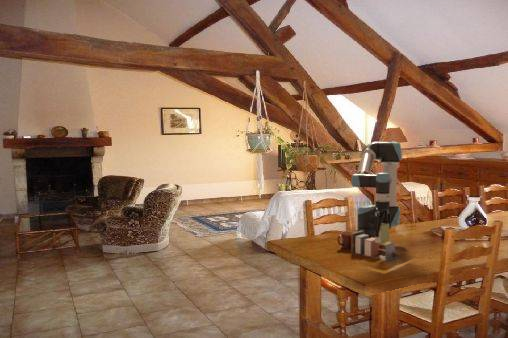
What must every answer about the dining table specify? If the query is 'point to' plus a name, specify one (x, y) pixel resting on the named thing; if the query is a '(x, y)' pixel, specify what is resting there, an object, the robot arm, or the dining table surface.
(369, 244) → the rust book
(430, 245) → the dining table surface
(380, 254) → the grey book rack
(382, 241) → the olive book
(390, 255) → the bookend
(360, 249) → the blue-grey block
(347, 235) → the mug
